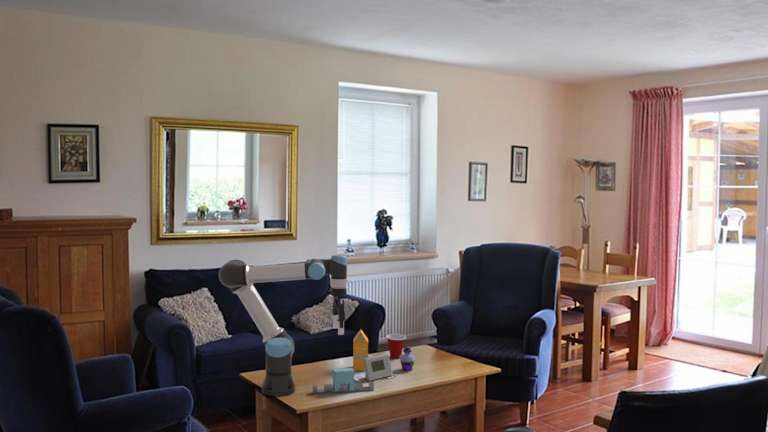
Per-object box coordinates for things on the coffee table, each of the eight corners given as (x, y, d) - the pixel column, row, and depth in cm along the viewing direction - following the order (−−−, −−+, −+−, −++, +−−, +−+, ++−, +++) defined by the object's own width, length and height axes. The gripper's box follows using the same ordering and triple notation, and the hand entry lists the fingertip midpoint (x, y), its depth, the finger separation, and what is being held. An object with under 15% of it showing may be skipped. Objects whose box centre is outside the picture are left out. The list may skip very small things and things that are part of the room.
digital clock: (367, 382, 326) (367, 360, 325) (358, 377, 333) (359, 356, 333) (396, 377, 334) (396, 356, 333) (387, 373, 342) (387, 352, 341)
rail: (313, 394, 306) (313, 386, 305) (312, 392, 308) (312, 384, 308) (373, 390, 313) (373, 382, 312) (372, 388, 315) (372, 381, 315)
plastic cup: (393, 361, 365) (393, 339, 365) (382, 356, 374) (382, 335, 374) (409, 358, 371) (409, 336, 371) (398, 354, 380) (398, 333, 380)
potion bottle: (412, 372, 343) (412, 349, 342) (396, 370, 346) (396, 347, 345) (417, 368, 351) (418, 345, 350) (401, 366, 354) (402, 344, 353)
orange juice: (368, 366, 354) (368, 328, 353) (367, 371, 345) (368, 332, 344) (353, 366, 354) (353, 328, 353) (352, 370, 345) (353, 332, 344)
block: (334, 391, 307) (334, 371, 307) (332, 388, 311) (333, 369, 311) (354, 390, 309) (354, 370, 309) (351, 387, 314) (352, 368, 313)
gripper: (351, 291, 311) (351, 336, 312) (341, 283, 335) (341, 325, 336) (335, 291, 309) (335, 337, 310) (326, 283, 333) (326, 326, 334)
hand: (338, 331), depth 323 cm, fingers open, 13 cm apart
